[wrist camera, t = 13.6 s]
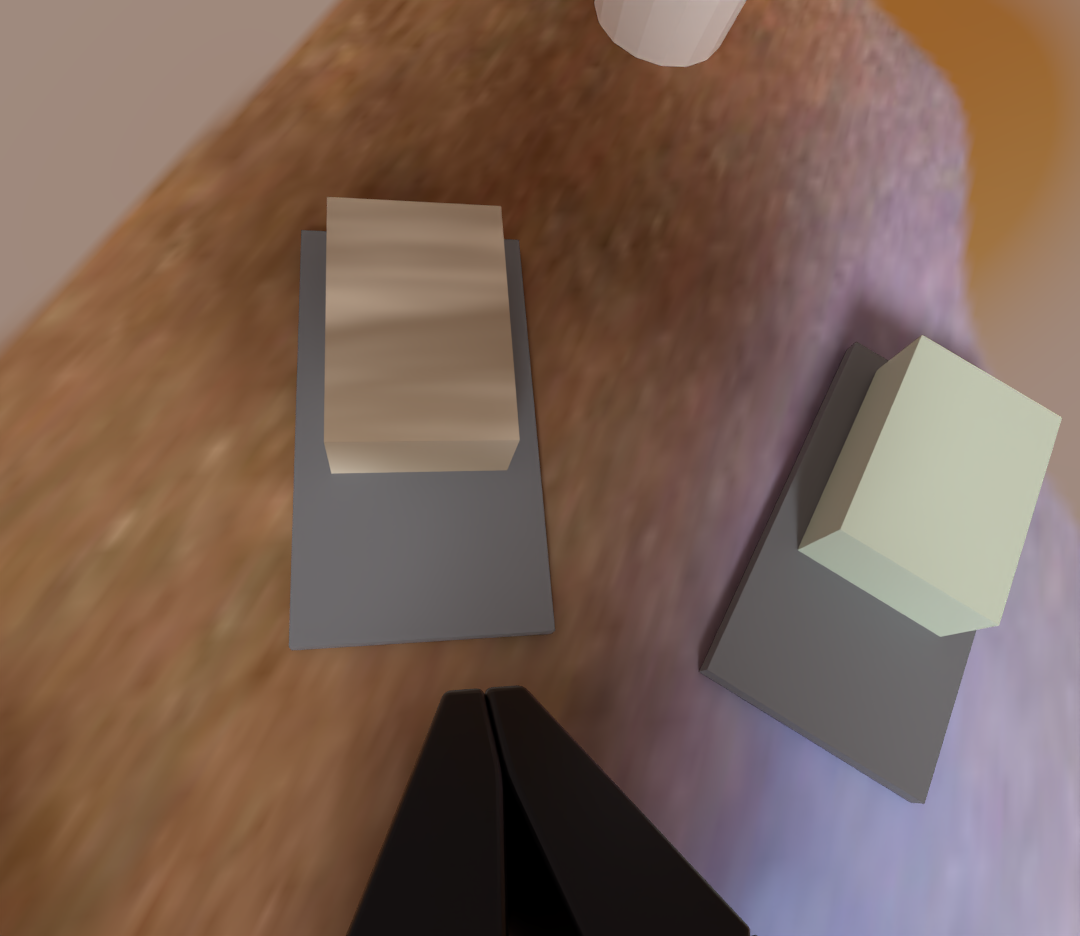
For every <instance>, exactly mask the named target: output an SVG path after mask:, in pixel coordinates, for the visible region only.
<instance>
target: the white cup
mask: <svg viewBox="0 0 1080 936" xmlns="http://www.w3.org/2000/svg"><path fill="white" fill-rule="evenodd" d="M745 2H746V0H595V2H594V5H595V9H596V13H597V17H598V21H599V24H600V25H601V27H602V28H603V29H604V30H605V32H606V33H607V34H608V36H609V37H610V38H611V39H612V41H613V42H614V43H615V44H617V45H618V46H620V47H621V48H623V49H624V50H626V51H627V52H629V53H630V54H631V55H633V56H634V57H636V58H639V59H642V60H645V61H648V62H651V63H654V64H657V65H660V66H675V67H688V66H691V65H694V64H697V63H700V62H703V61H706V60H707V59H708V58H709V57H710V56H711V55H712V54H713V53H714V52H715V51H716V50H717V49H718V48H719V47H720V45H721V43H722V42H723V40H724V38H725V37H726V35H727V33H728V31H729V30H730V28H731V26H732V24H733V23H734V21H735V19H736V17H737V16H738V14H739V12H740V10H741V9H742V7H743V5H744V4H745Z"/></svg>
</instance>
